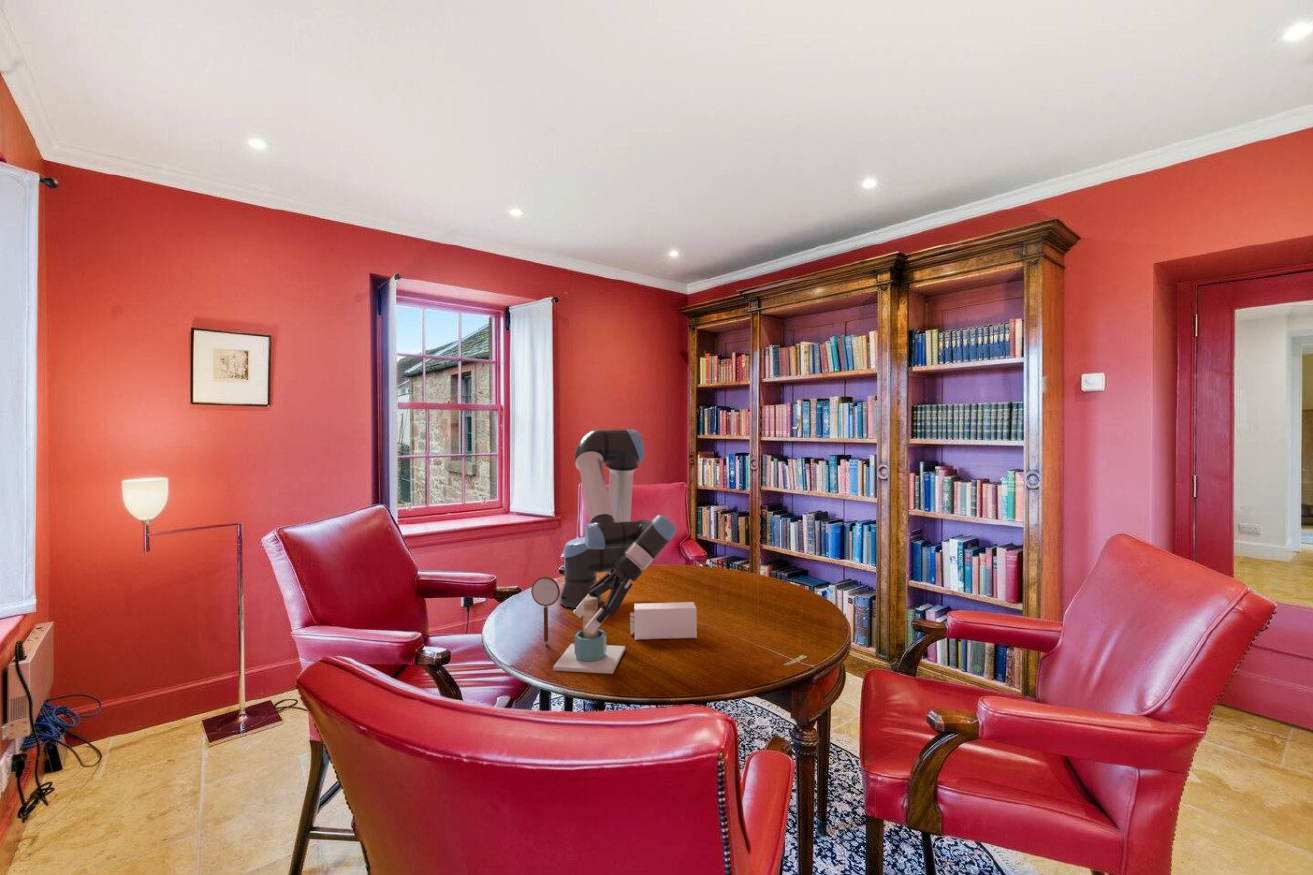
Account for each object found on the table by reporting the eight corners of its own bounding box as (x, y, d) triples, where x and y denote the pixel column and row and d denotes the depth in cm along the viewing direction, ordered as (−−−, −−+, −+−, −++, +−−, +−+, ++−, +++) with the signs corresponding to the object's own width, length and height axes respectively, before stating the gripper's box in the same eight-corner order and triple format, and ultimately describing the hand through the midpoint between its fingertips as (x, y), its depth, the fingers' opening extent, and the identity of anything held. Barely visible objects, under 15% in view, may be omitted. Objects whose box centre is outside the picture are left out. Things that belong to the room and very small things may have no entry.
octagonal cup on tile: (571, 646, 162) (571, 622, 161) (625, 649, 159) (624, 625, 159) (553, 670, 146) (552, 643, 146) (612, 673, 143) (612, 646, 143)
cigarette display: (694, 632, 173) (694, 602, 173) (696, 638, 167) (696, 607, 167) (630, 633, 172) (630, 603, 172) (630, 640, 166) (630, 609, 166)
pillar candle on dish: (584, 648, 155) (583, 596, 155) (602, 648, 155) (601, 596, 155) (578, 655, 150) (578, 601, 150) (597, 656, 150) (597, 602, 149)
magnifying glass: (531, 644, 163) (530, 577, 163) (533, 642, 165) (532, 575, 165) (559, 646, 162) (558, 578, 162) (561, 643, 164) (560, 576, 164)
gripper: (658, 581, 146) (604, 647, 141) (628, 561, 169) (580, 616, 164) (639, 563, 144) (583, 629, 139) (611, 545, 167) (562, 601, 162)
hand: (582, 622), depth 152 cm, fingers open, 13 cm apart
